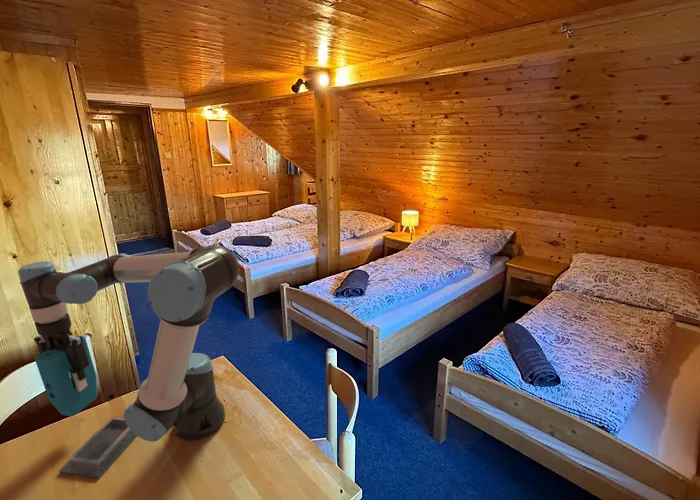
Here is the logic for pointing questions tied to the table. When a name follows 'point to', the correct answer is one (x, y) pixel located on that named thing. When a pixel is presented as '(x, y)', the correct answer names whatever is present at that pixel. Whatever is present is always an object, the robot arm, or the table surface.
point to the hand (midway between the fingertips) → (73, 387)
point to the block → (66, 381)
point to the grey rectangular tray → (100, 450)
